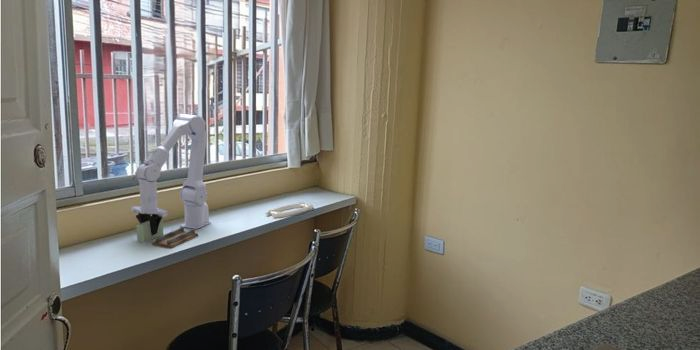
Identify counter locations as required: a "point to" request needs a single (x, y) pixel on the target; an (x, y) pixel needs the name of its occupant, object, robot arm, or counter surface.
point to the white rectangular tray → (277, 214)
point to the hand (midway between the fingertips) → (150, 233)
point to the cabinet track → (174, 238)
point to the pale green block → (148, 231)
